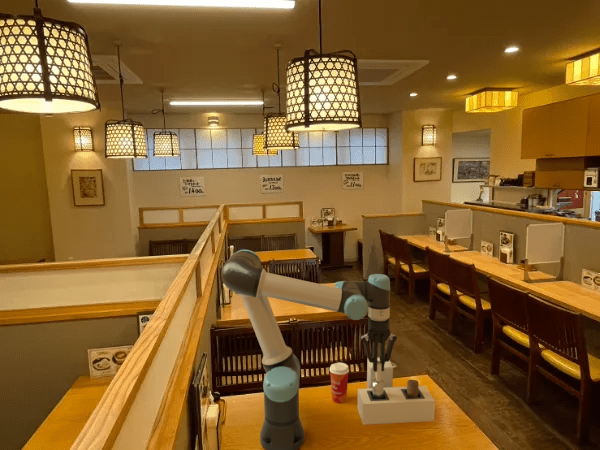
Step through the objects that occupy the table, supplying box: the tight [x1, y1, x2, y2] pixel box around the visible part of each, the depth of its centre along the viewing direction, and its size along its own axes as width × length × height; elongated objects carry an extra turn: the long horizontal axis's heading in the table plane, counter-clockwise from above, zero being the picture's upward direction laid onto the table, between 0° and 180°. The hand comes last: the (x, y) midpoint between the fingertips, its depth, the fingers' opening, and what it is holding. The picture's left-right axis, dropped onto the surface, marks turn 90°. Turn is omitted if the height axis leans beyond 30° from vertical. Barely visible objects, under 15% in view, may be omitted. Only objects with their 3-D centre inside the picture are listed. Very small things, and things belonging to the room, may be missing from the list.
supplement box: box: [366, 356, 394, 389], centre depth 164 cm, size 9×9×15 cm
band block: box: [357, 385, 436, 426], centre depth 153 cm, size 26×10×8 cm, turn 93°
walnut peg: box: [406, 379, 419, 398], centre depth 152 cm, size 4×4×8 cm
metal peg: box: [372, 379, 384, 400], centre depth 152 cm, size 4×4×8 cm
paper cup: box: [329, 361, 350, 404], centre depth 163 cm, size 8×8×14 cm
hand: (378, 379), depth 151 cm, fingers closed
